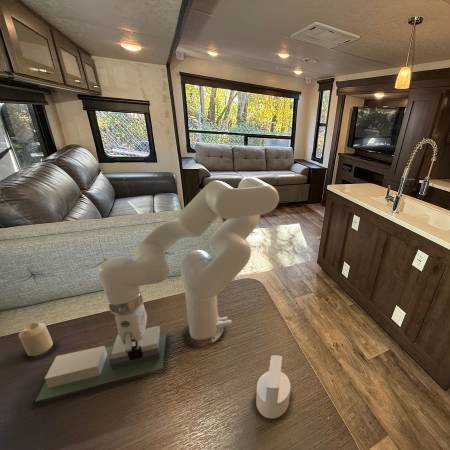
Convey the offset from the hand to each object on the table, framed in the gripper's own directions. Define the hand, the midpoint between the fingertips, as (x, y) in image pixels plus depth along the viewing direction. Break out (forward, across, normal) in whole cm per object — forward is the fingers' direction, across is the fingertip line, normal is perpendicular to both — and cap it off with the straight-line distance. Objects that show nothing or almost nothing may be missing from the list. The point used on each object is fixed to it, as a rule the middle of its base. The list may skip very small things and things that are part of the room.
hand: (138, 346), depth 74 cm
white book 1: (+1, 0, +15) cm, 15 cm away
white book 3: (-1, 0, 0) cm, 1 cm away
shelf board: (+5, 0, +8) cm, 9 cm away
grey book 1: (+1, 0, +1) cm, 1 cm away
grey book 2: (+3, 0, +1) cm, 4 cm away
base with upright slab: (+6, -25, -34) cm, 43 cm away
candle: (+5, +12, +28) cm, 30 cm away
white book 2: (+3, 0, +15) cm, 15 cm away
